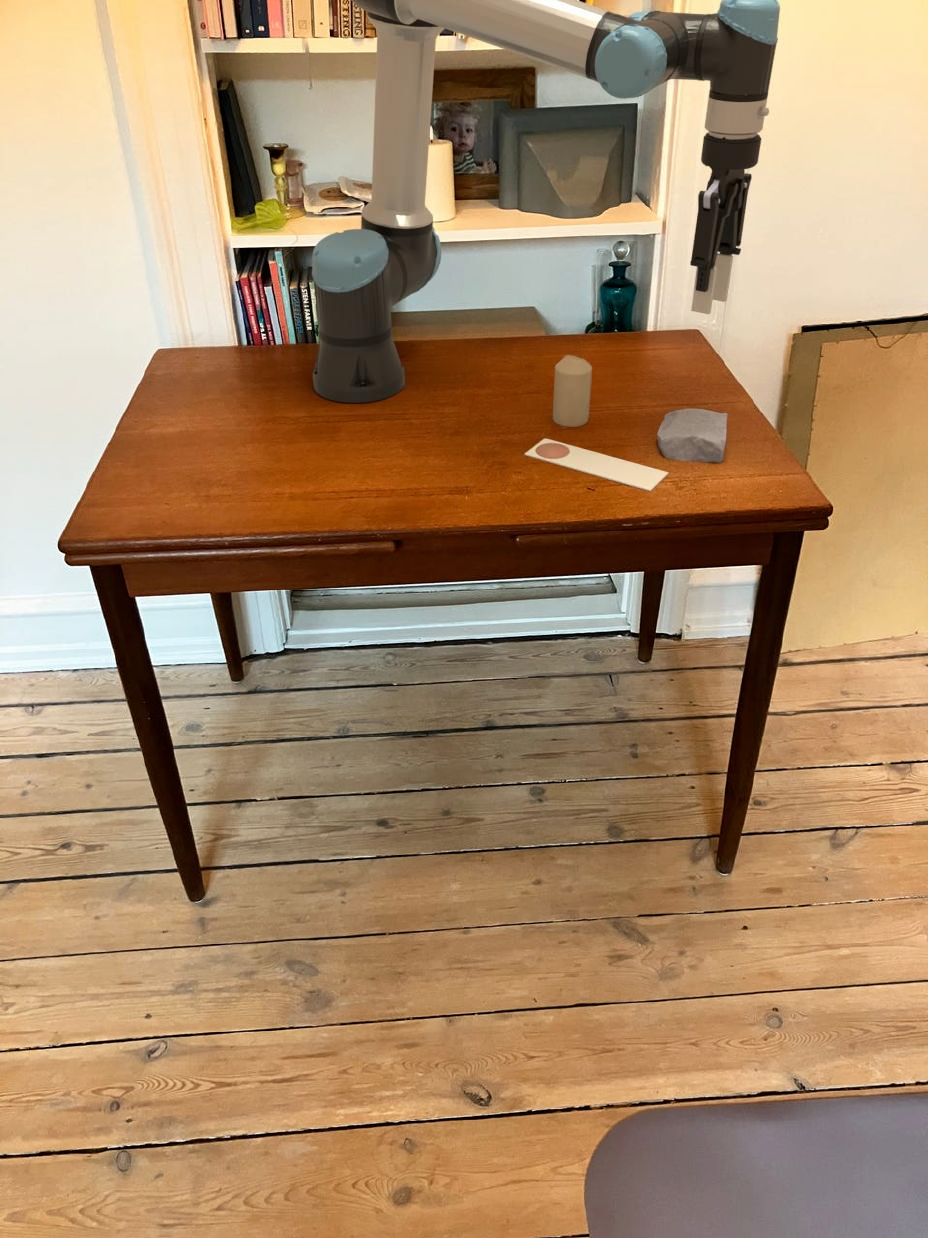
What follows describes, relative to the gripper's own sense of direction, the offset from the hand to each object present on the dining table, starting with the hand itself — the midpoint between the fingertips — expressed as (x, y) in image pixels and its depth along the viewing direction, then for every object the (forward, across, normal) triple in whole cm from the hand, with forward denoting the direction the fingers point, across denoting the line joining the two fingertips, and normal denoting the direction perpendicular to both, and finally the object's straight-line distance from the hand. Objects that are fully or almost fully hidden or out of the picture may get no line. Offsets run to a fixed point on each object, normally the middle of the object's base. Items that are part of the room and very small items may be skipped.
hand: (709, 305), depth 146 cm
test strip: (+17, -24, +5) cm, 30 cm away
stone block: (+17, -10, -4) cm, 21 cm away
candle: (+17, -13, +15) cm, 26 cm away
